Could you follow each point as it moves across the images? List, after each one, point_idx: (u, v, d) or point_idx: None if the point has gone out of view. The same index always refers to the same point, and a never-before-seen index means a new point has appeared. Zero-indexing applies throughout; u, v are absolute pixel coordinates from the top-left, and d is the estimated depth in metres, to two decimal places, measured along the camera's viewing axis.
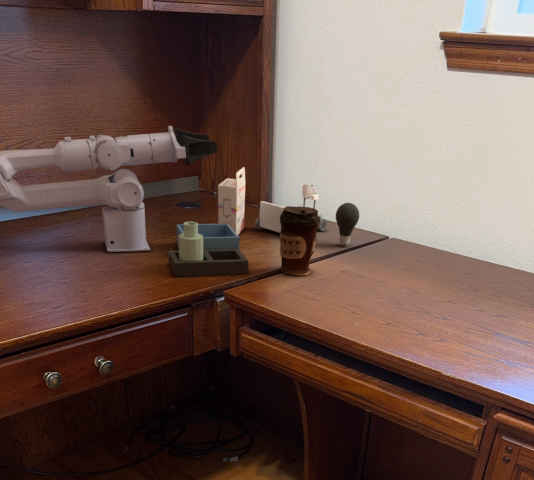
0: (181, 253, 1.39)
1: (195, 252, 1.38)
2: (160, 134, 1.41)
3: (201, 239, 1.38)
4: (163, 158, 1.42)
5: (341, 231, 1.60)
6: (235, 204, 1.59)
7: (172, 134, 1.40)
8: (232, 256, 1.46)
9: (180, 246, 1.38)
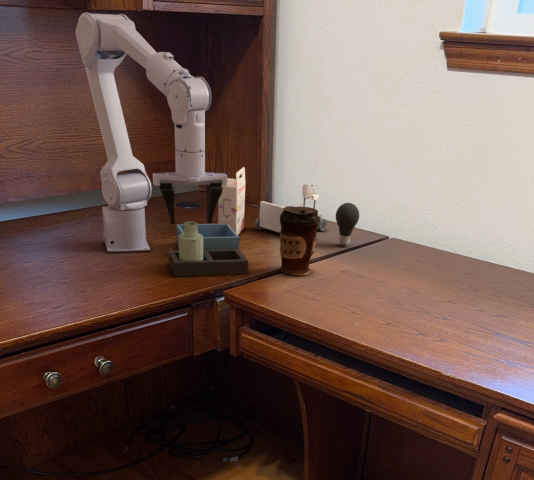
0: (181, 253, 1.39)
1: (195, 252, 1.38)
2: (188, 166, 1.28)
3: (201, 239, 1.38)
4: None
5: (341, 231, 1.60)
6: (235, 204, 1.59)
7: (184, 179, 1.29)
8: (232, 256, 1.46)
9: (180, 246, 1.38)
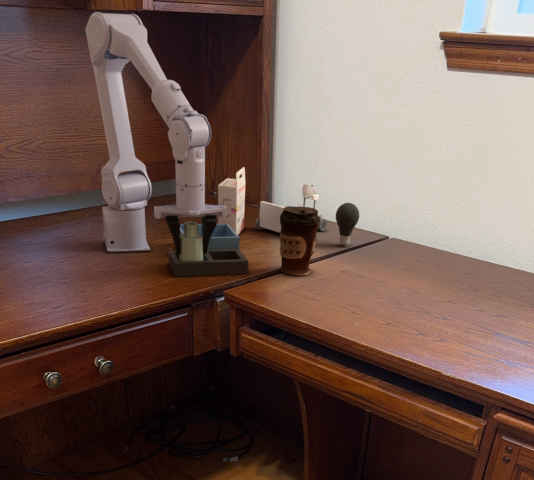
0: (181, 253, 1.39)
1: (195, 252, 1.38)
2: (189, 199, 1.31)
3: (201, 239, 1.38)
4: None
5: (341, 231, 1.60)
6: (235, 204, 1.59)
7: (185, 212, 1.33)
8: (232, 256, 1.46)
9: (180, 246, 1.38)
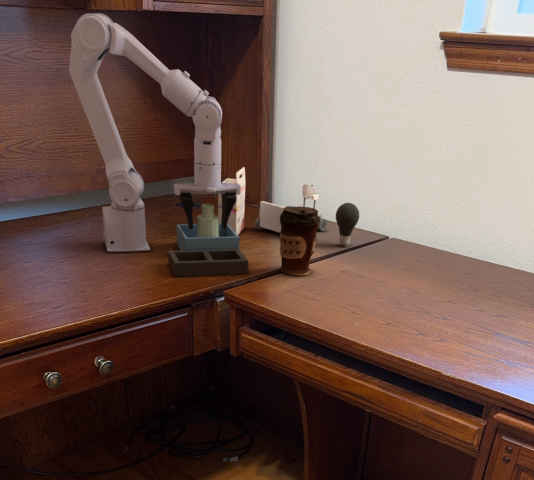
0: (198, 233, 1.50)
1: (211, 232, 1.49)
2: (206, 177, 1.42)
3: (217, 220, 1.49)
4: None
5: (341, 231, 1.60)
6: (235, 204, 1.59)
7: (202, 189, 1.43)
8: (232, 256, 1.46)
9: (198, 226, 1.49)
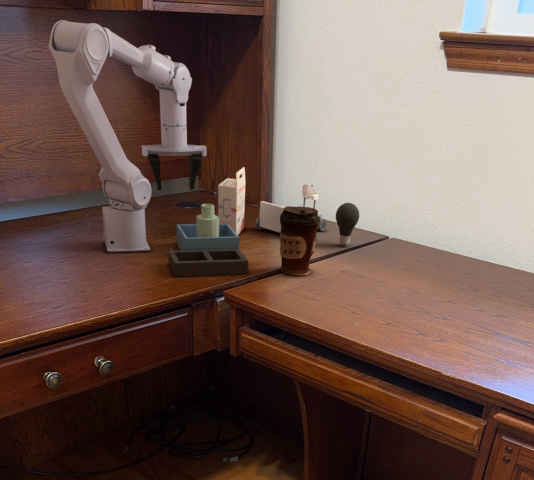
0: (198, 233, 1.50)
1: (211, 232, 1.49)
2: None
3: (217, 220, 1.49)
4: (185, 136, 1.50)
5: (341, 231, 1.60)
6: (235, 204, 1.59)
7: None
8: (232, 256, 1.46)
9: (198, 226, 1.49)
